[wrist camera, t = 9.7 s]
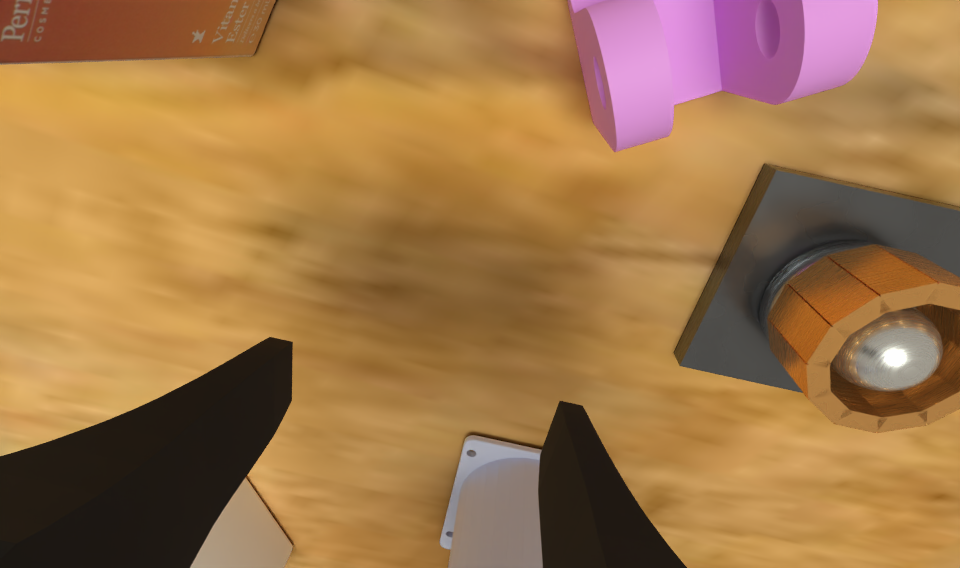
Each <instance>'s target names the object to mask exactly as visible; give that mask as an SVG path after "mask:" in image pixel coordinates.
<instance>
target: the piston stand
mask: <svg viewBox="0 0 960 568" xmlns="http://www.w3.org/2000/svg"><path fill="white" fill-rule="evenodd" d="M872 244H874V245H875V244H877V245H882V246H886V247H891V248H895V249H900V250H904V251H909V252H913V253H917V254H919V255H921V256H922V257H924V258H926V259H928V260H930V261H931V262H933V263H935V264H937V265H939V266H940V267H942V268H944V269H946V270H947V271H949V272H951V273H953V274H955V275H956V276H958V277H960V207H958V206H953V205H949V204H944V203H940V202H935V201H931V200H926V199H922V198H917V197H913V196H908V195H904V194H899V193H895V192H890V191H886V190H881V189H877V188H872V187H868V186H863V185H859V184H854V183H850V182H845V181H841V180H836V179H832V178H827V177H823V176H818V175H814V174H809V173H805V172H800V171H796V170H791V169H786V168H782V167H777V166H773V165H768V164H764V166H763V168H762V170H761V172H760V174H759V176H758V179H757V181H756V183H755V185H754V187H753V189H752V191H751V193H750V195H749V197H748V199H747V201H746V204H745V206H744V208H743V210H742V212H741V214H740V216H739V218H738V220H737V222H736V224H735V226H734V229H733V231H732V233H731V235H730V237H729V239H728V241H727V243H726V245H725V247H724V249H723V251H722V254H721V256H720V258H719V260H718V262H717V264H716V266H715V268H714V270H713V272H712V274H711V276H710V279H709V281H708V283H707V285H706V287H705V289H704V291H703V293H702V295H701V297H700V299H699V301H698V304H697V306H696V308H695V310H694V312H693V314H692V316H691V318H690V320H689V322H688V324H687V326H686V329H685V331H684V333H683V335H682V337H681V339H680V341H679V343H678V345H677V347H676V349H675V351H674V354H675V356H676V359H677V361H678V363H679V365H680V366H683V367H687V368H692V369H696V370H701V371H705V372H710V373H715V374H719V375H724V376H728V377H733V378H737V379H742V380H747V381H751V382H756V383H760V384H765V385H769V386H774V387H779V388H783V389H788V390H792V391H797V392H801V393H803V392H802V390H801V389H800V388H799V386H798V385H797V384H796V383H795V381H794V380H793V379H792V377H791V376H790V375H789V373H788V372H787V371H786V370H785V368H784V367H783V366H782V364H781V363H780V362H779V360H778V359H777V358H776V357H775V355H774V354H773V353H772V351H771V350H770V345H769V334H768V324H767V318H768V315H769V313H770V311H771V309H772V308H773V306H774V304H775V302H776V301H777V299H778V297H779V295H780V294H781V292H782V290H783V288H784V287H785V285H786V284H788V283H787V282H789V281H790V280H792V279H793V278H794V277H796V276H797V275H799V274H800V273H801V272H803V271H804V270H806V269H807V268H809V267H810V266H811V265H813V264H814V263H816V262H817V261H819V260H820V259H821V258H823V257H824V256H826V257H827V255H830V254H834V253H838V252H842V251H846V250H851V249H855V248H859V247H863V246H868V245H872ZM942 354H943V344H942V340H941V336H940V334H939V332H938V330H937V328H936V327H935V325H934V324H933V323H932V321H931V320H930V319H929V318H928V317H927V316H925V315H924V314H923V313H922V312H920V311H919V310H917V309H916V307H911V308H906V309H901V310H896V311H891V312H887V313H885V314H883V315H881V316H880V317H878V318H877V319H875V320H873V321H872V322H870V323H868V324H867V325H865V326H864V327H862V328H860V329H859V330H857V331H856V332H854V333H852V334H851V335H849V337H848V338H847V340H846V341H845V343H844V344H843V345H842V347H841V348H840V350H839V351H838V353H837V354H836V356H835V357H834V359H833V360H832V362H831V363H830V365H831V366H832V368H833V369H834V370H835V371H836V372H837V373H838V374H840V375H841V376H842V377H843V378H845V379H846V380H848V381H849V382H851V383H853V384H855V385H858V386H860V387H863V388H866V389H870V390H875V391H885V392H887V391H900V390H905V389H908V388H912V387H914V386H917V385H919V384H921V383H922V382H924V381H925V380H927V379H928V378H929V377H930V376H931V375H932V374H933V373H934V372H935V371H936V369H937V368H938V366H939V364H940V361H941V358H942Z"/></svg>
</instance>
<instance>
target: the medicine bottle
mask: <svg viewBox="0 0 960 568" xmlns="http://www.w3.org/2000/svg"><path fill="white" fill-rule="evenodd" d="M292 549H293V546H292V544H291V542H290V541H289V539H288V538H287V536H286V535H285V534H284V532H283V531H282V529H281V528H280V526H279V525H278V523H277V522H276V520H275V519H274V518H273V516H272V515H271V513H270V512H269V510H268V509H267V507H266V506H265V505H264V503H263V502H262V500H261V499H260V497H259V496H258V494H257V493H256V491H255V490H254V489H253V487H252V486H251V484H250V483H249V481H248V480H247V478H246V477H245V479H244V480H243V482H242V483H241V485H240V486H239V488H238V489H237V491H236V492H235V493H234V495H233V496H232V498H231V499H230V501H229V502H228V504H227V505H226V507H225V508H224V510H223V511H222V513H221V514H220V516H219V518H218V519H217V521H216V522H215V524H214V526H213V527H212V529H211V531H210V532H209V534H208V536H207V538H206V540H205V542H204V543H203V545H202V547H201V549H200V551H199V552H198V554H197V556H196V558H195V560H194V561H193V563H192V565H191V567H190V568H284V567H285V564H286V562H287V560H288V558H289V556H290V554H291V552H292Z"/></svg>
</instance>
